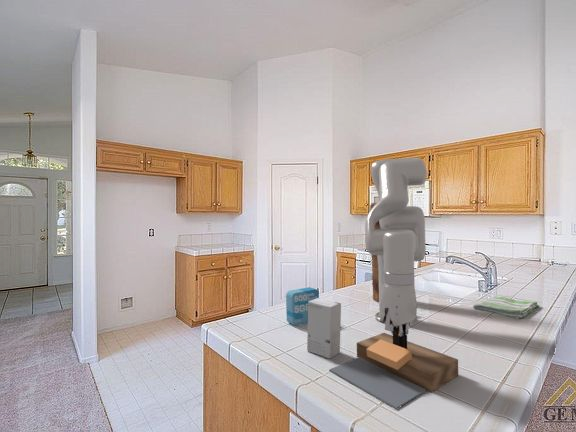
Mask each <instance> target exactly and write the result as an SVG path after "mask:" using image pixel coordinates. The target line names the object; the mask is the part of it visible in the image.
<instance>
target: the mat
mask: <svg viewBox="0 0 576 432" xmlns="http://www.w3.org/2000/svg"><path fill="white" fill-rule="evenodd" d="M328 370H329V372H330V373H332V374H333V375H336V376H337V377H339V378H340V379H342V380H344V381H346V382H348V383H349V384H351V385H353V386H354V387H356V388H358V389H360V390H362V391H363V392H365V393H366V394H369V395H370V396H372V397H373V396H374V398H375V397H376V398H375V399H377V400H379V401H380V400H381V402H382V403H383V404H385V403H386V405H387V406H389V405H390V406H389V407H391V408H392V407H393V408H392V409H394V408H395V409H394V410H396V409H397V408H398V409H400V408H401V407H400V406H402V405H403V406H405V405H406V404H408V403H409V402H408V401H410V400H411V401H413V400H414V398H415V397H416V398H418V397H419V396H421V395H422V393H423V394H424V393H426V392H427V390H426V389H424V388H422V387H420V386H418V385H416V384H414V383H411V382H409V381H407V380H405V379H403V378H401V377H399V376H397V375H395V374H392V373H390V372H388V371H386V370H384V369H382V368H380V367H378V366H376V365H374V364H371V363H369V362H367V361H365V360H363V359H361V358H359V357H355V358H354V359H351V360H349V361H347V362H344V363H341V364H339V365H337V366H334V367H331V368H329V369H328ZM420 394H421V395H420ZM417 396H418V397H417ZM416 398H415V399H416ZM412 399H413V400H412ZM411 401H410V402H411ZM407 402H408V403H407ZM405 403H406V404H405ZM404 404H405V405H404ZM403 406H402V407H403ZM399 407H400V408H399ZM398 409H397V410H398Z"/></svg>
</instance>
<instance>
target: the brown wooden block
mask: <svg viewBox="0 0 576 432" xmlns="http://www.w3.org/2000/svg"><path fill="white" fill-rule="evenodd" d="M380 339H381V340H384V341H387V342H389V343H392V344H393V334H392V335H391V334H388V333H385V332H382V333H378V334H377V335H374V336H371V337H368V338H366V339H363V340H361V341H357V342H356V358H358V357H359V358H361V359H363V360H365V361H367V362H369V363H371V364H374V365H376V366H378V367H380V368H382V369H384V370H386V371H388V372H390V373H392V374H395V375H397V376H399V377H401V378H403V379H405V380H407V381H409V382H411V383H414V384H416V385H418V386H420V387H422V388H424V389H426V392H427V391H428V392H429V393H434V392H435V391H437V390H438V389H440V388H441V387H443V386H444V385H446V384H447V383H449V382H450V381H452V380H453V379H456V378H457V377H459V359H458V358H455V357H453V356H449V355H448V354H445V353H442V352H438V351H436V350H434V349H431V348H427V347H424V346H422V345H419V344H416V343H414V342H410V341H408V340H407V349H408V350H410V351H411V355H412V359H411V360H409V361H408V362H407V363H406V364H404V365H403V366H402V367H401V368H399V369H398V370H396V369H394V368H392V367H390V366H388V365H385V364H383V363H381V362H379V361H377V360H374V359H372V358H370V357H368V356H367V351H366V349H367V348H368V347H370V346H371V345H373V344H374V343H376V342H377V341H379V340H380ZM439 387H440V388H439Z"/></svg>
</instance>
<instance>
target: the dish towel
mask: <svg viewBox="0 0 576 432" xmlns="http://www.w3.org/2000/svg"><path fill="white" fill-rule="evenodd" d="M472 308H473V310H474V311H480V312H484V313H490V314H493V315H499V316H504V317H507V318H512V319H517V320H521V319H522V318H524V317H526V316H528V315H529V314H531V313H533V312H534V311H535V310H537V309H539V308H540V305H539V304H538V302H537V301H525V300H517V299H516V300H515V299H513V298H508V297H504V296H494V297H492V298H490V299H487V300H486V301H483V302H481V303H475V304H473V305H472Z"/></svg>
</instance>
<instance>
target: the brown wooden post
mask: <svg viewBox="0 0 576 432" xmlns="http://www.w3.org/2000/svg"><path fill="white" fill-rule="evenodd" d="M377 203H378V202H371V203H370V205H369V212H370V211H371V209H372V208H373V207H374V206H375V205H376V204H377ZM374 229H381V227H380V223H379V221H378V222H377V223H376V224H375V227H374ZM371 269H372V270H371V271H372V276H371V278H372V279H371V280H372V283H371V284H372V286H371V287H372V299H373V301H374V302H376V303H379V270H378V258H377V255H372V254H371Z"/></svg>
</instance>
